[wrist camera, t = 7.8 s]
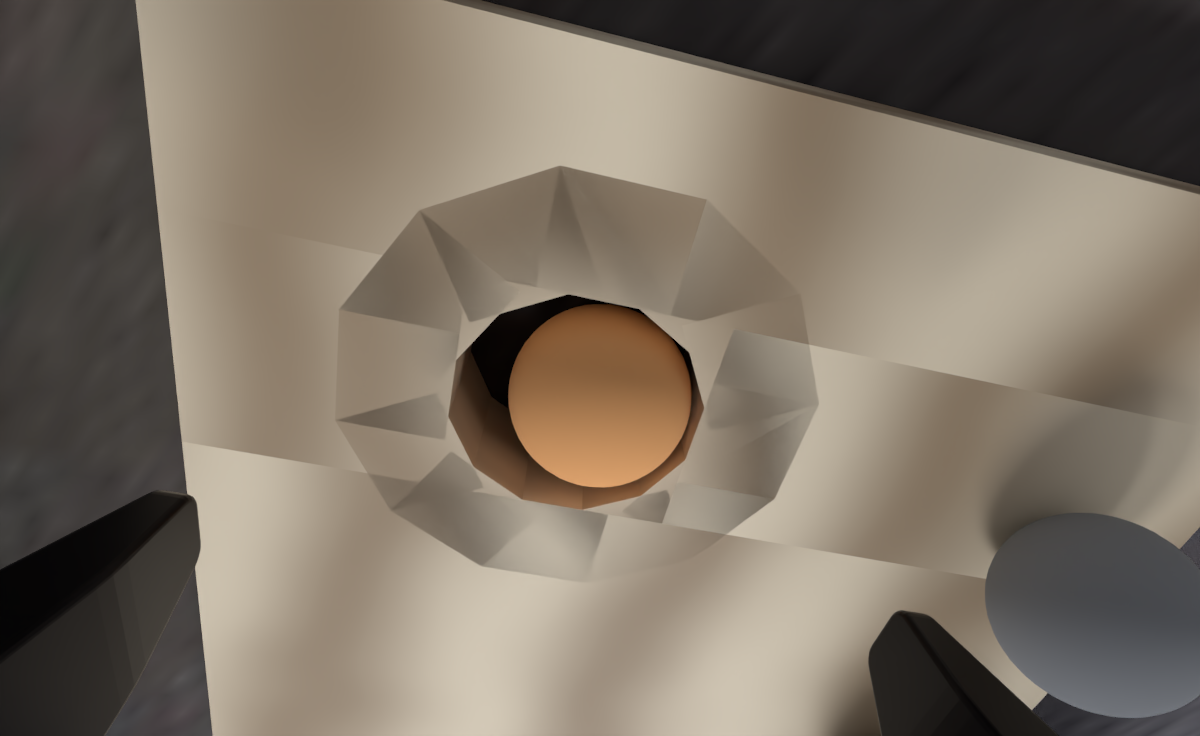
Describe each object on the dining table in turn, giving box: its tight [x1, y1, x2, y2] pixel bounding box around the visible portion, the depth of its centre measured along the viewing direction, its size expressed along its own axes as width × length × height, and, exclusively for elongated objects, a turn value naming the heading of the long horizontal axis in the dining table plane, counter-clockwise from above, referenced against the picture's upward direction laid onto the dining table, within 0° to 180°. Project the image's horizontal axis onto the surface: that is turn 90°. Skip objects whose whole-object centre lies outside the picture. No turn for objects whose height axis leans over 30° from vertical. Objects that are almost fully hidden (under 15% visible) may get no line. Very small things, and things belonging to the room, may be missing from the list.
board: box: [136, 0, 1200, 736], centre depth 16 cm, size 20×24×2 cm
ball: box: [508, 304, 692, 487], centre depth 13 cm, size 4×4×4 cm
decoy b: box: [985, 513, 1200, 718], centre depth 12 cm, size 4×4×4 cm
